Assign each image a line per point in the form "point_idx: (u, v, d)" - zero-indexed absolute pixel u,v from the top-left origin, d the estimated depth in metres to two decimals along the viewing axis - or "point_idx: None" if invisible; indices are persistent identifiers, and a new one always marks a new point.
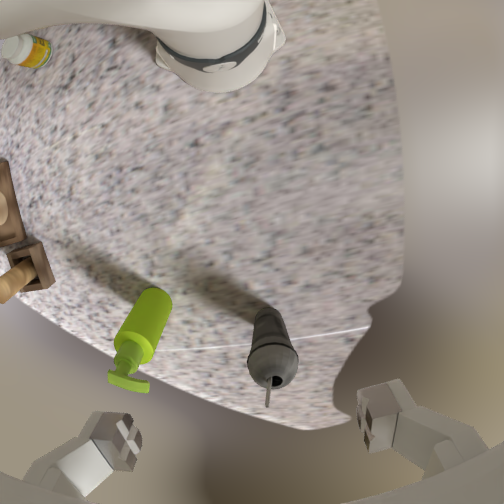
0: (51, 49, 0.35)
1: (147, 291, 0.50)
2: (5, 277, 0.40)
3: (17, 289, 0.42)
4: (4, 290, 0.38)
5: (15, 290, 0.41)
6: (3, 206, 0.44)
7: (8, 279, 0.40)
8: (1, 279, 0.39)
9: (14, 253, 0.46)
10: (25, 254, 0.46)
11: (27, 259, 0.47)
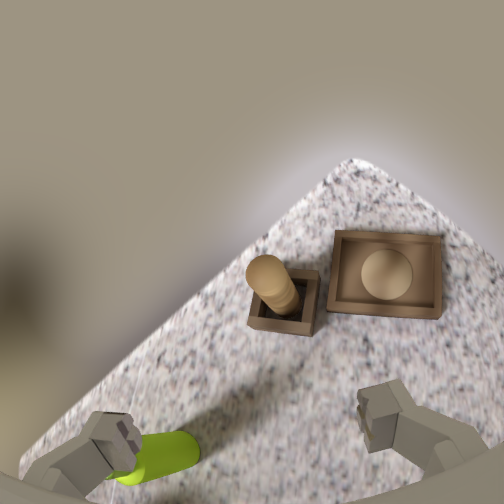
0: None
1: (195, 457, 0.35)
2: (283, 291, 0.33)
3: (259, 296, 0.35)
4: (263, 292, 0.31)
5: None
6: (384, 290, 0.38)
7: (278, 296, 0.33)
8: (282, 287, 0.32)
9: (314, 289, 0.39)
10: (305, 311, 0.38)
11: (297, 306, 0.39)
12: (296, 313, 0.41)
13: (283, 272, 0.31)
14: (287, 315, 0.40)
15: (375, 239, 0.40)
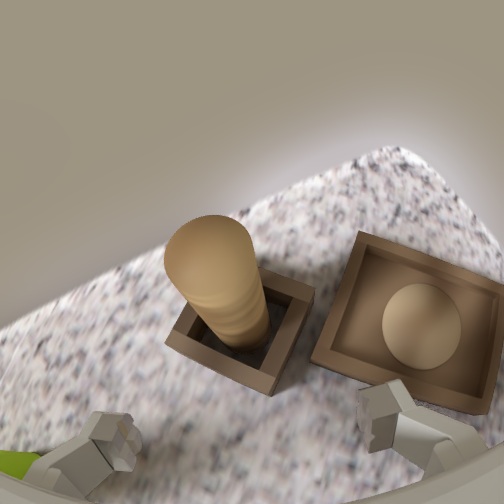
0: None
1: None
2: (238, 306, 0.15)
3: None
4: (189, 294, 0.13)
5: None
6: (413, 351, 0.20)
7: (224, 312, 0.15)
8: (237, 296, 0.14)
9: (299, 318, 0.21)
10: (271, 354, 0.20)
11: (261, 339, 0.21)
12: (255, 349, 0.22)
13: (248, 263, 0.13)
14: (238, 349, 0.22)
15: (419, 264, 0.23)
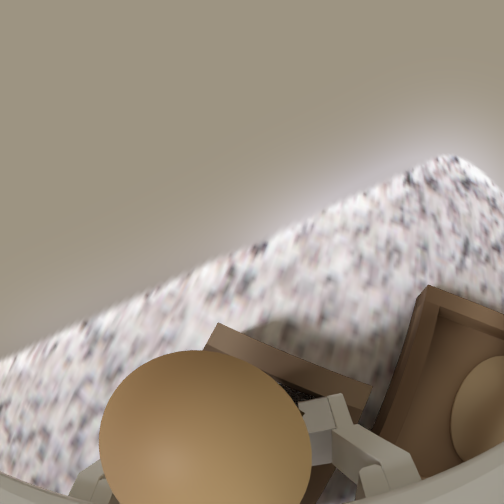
0: None
1: None
2: None
3: None
4: None
5: None
6: (483, 448, 0.11)
7: None
8: None
9: None
10: None
11: None
12: None
13: (300, 492, 0.04)
14: None
15: (500, 331, 0.14)
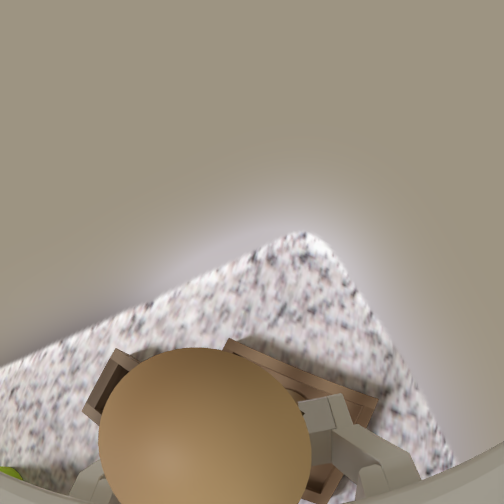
0: None
1: None
2: None
3: None
4: None
5: None
6: None
7: None
8: None
9: None
10: None
11: None
12: None
13: (299, 490, 0.04)
14: None
15: (280, 373, 0.27)
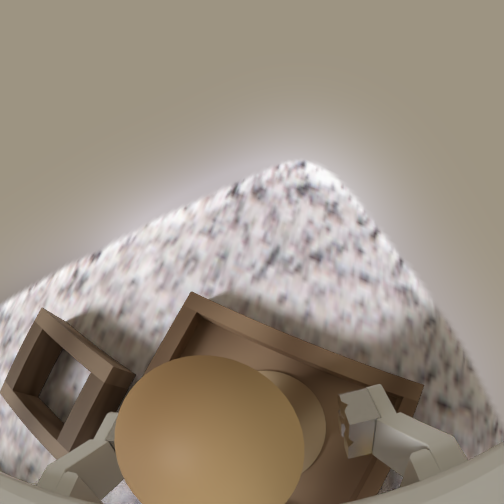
0: None
1: None
2: None
3: None
4: None
5: None
6: None
7: None
8: None
9: (92, 397, 0.15)
10: (66, 427, 0.14)
11: None
12: None
13: (294, 481, 0.05)
14: None
15: (268, 345, 0.17)
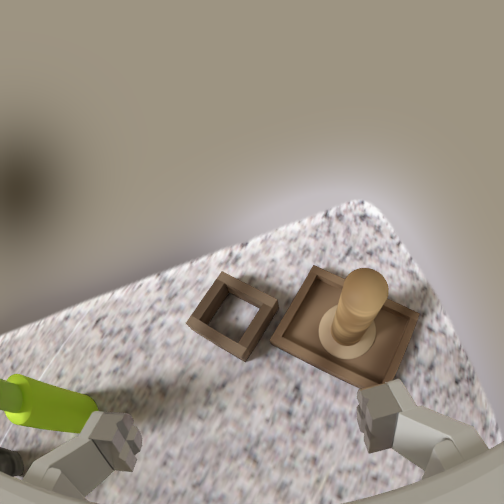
0: None
1: None
2: (373, 316, 0.26)
3: (341, 312, 0.28)
4: (359, 310, 0.25)
5: (343, 311, 0.28)
6: (337, 345, 0.35)
7: (366, 319, 0.26)
8: (377, 311, 0.25)
9: (264, 316, 0.36)
10: (246, 334, 0.35)
11: (362, 336, 0.33)
12: (355, 343, 0.34)
13: (386, 296, 0.25)
14: (347, 342, 0.33)
15: None
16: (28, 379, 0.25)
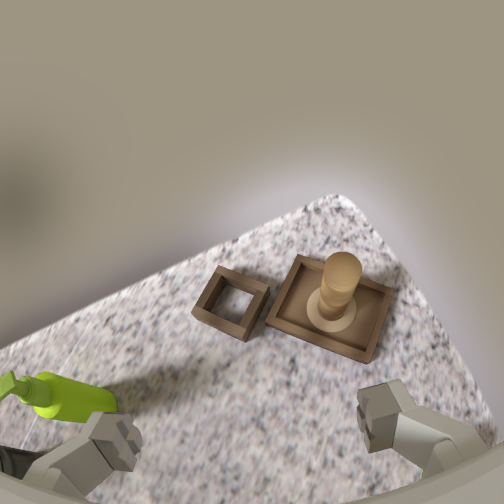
0: None
1: None
2: (351, 291, 0.33)
3: (324, 290, 0.35)
4: (339, 285, 0.31)
5: (325, 289, 0.34)
6: (323, 321, 0.41)
7: (345, 294, 0.33)
8: (354, 286, 0.32)
9: (259, 300, 0.42)
10: (244, 317, 0.41)
11: (344, 311, 0.40)
12: (339, 317, 0.41)
13: (360, 273, 0.31)
14: (332, 317, 0.40)
15: None
16: (55, 375, 0.30)
